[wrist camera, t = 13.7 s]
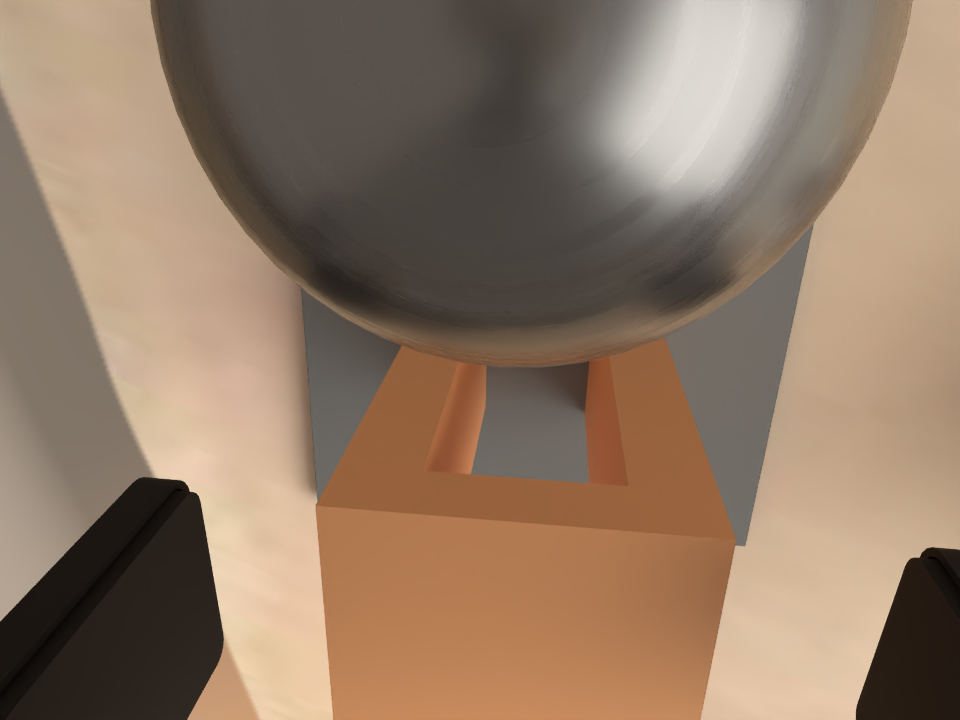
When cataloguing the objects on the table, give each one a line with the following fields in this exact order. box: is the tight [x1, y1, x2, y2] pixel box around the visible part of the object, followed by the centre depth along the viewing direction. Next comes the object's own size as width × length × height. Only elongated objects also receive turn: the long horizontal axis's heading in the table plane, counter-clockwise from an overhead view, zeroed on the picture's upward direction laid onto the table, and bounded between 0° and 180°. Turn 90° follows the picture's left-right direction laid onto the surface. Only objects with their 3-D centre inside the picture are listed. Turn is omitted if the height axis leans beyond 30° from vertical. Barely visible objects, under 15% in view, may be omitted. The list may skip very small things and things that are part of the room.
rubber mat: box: [301, 223, 814, 546], centre depth 20 cm, size 12×13×1 cm
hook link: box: [316, 338, 736, 720], centre depth 15 cm, size 4×5×11 cm
